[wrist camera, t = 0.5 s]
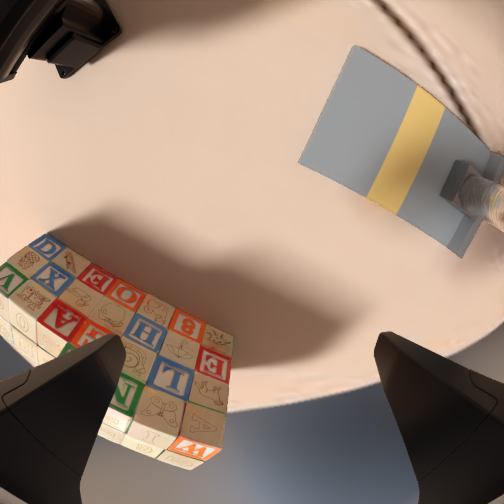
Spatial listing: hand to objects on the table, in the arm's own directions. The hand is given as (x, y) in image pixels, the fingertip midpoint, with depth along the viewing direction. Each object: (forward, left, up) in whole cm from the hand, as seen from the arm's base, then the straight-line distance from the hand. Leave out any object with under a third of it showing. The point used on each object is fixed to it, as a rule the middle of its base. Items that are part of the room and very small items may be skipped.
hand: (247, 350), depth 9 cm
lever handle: (+4, +17, -13) cm, 22 cm away
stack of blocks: (+2, -15, -14) cm, 21 cm away
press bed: (0, +14, -13) cm, 19 cm away
